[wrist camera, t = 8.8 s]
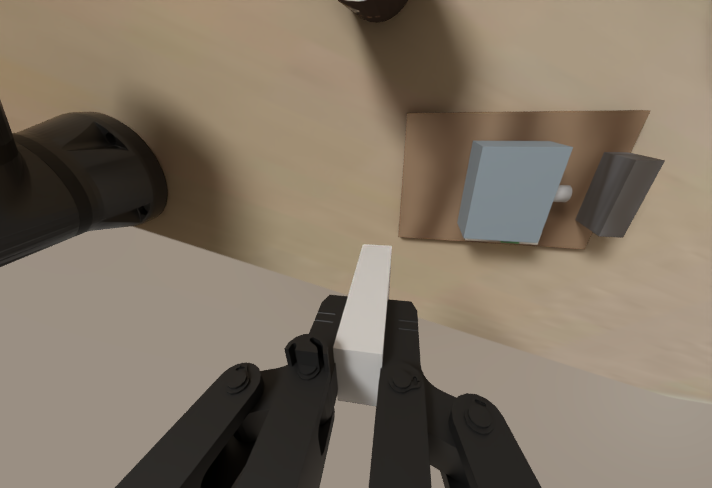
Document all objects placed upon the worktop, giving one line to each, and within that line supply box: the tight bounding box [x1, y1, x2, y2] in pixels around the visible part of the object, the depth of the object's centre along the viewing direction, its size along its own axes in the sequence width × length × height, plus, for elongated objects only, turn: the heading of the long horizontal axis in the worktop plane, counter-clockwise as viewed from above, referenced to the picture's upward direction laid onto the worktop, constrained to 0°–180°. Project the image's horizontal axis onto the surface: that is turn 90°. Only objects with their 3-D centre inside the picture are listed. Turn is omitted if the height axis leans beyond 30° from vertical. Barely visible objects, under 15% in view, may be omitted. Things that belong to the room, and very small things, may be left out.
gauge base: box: [398, 110, 665, 249], centre depth 26 cm, size 21×14×5 cm, turn 91°
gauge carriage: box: [457, 141, 573, 243], centre depth 26 cm, size 9×11×4 cm
